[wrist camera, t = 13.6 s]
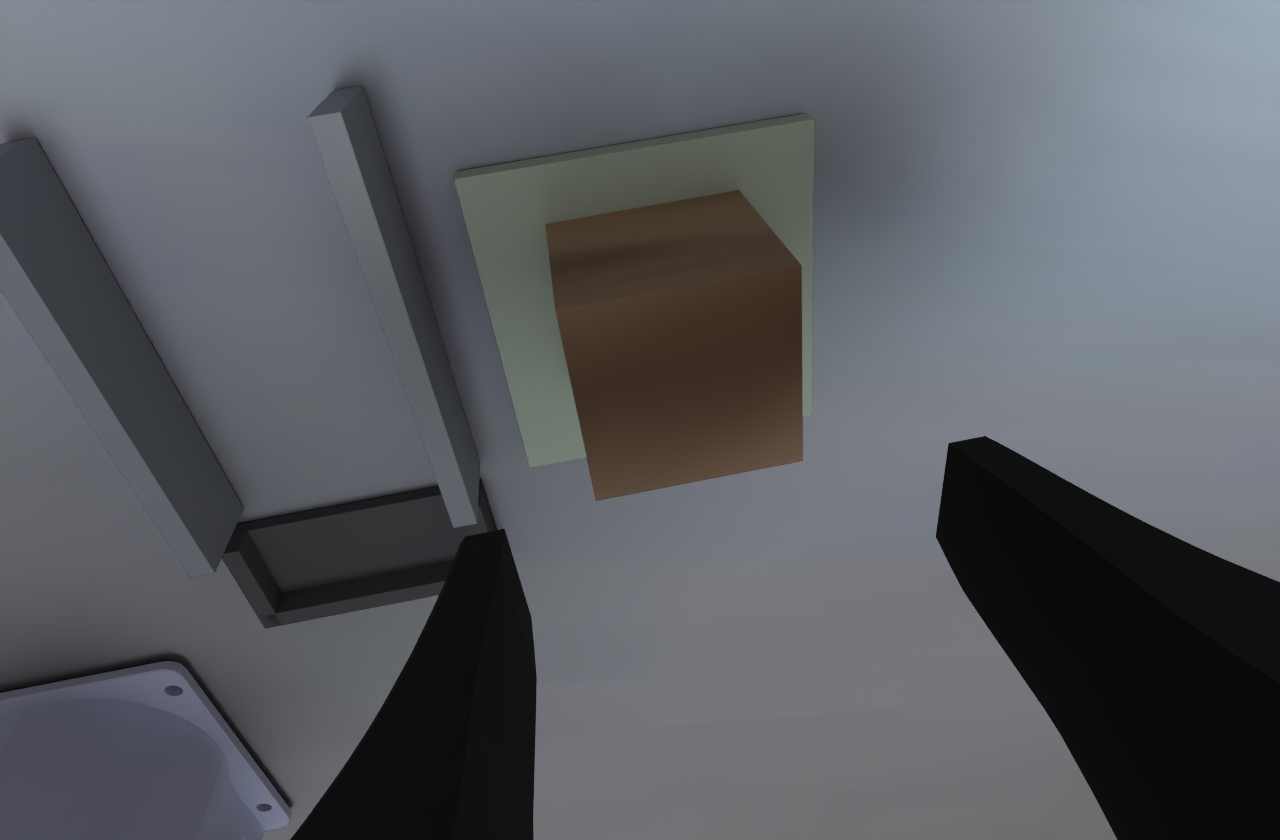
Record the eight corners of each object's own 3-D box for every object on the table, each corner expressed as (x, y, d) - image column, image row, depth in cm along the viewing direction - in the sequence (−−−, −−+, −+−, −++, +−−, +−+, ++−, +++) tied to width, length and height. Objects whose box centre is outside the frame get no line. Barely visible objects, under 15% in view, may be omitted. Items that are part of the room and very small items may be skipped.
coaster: (804, 403, 22) (812, 415, 21) (529, 455, 21) (530, 468, 21) (806, 113, 17) (814, 119, 17) (455, 171, 17) (453, 179, 16)
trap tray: (504, 553, 23) (504, 581, 22) (275, 597, 23) (265, 628, 22) (481, 478, 22) (479, 505, 21) (232, 524, 21) (219, 554, 20)
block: (748, 358, 20) (802, 460, 16) (579, 390, 20) (596, 500, 16) (739, 189, 17) (802, 265, 14) (545, 224, 17) (555, 310, 13)
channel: (479, 464, 21) (476, 523, 19) (221, 512, 21) (190, 577, 19) (362, 85, 16) (340, 111, 14) (5, 142, 15) (-74, 178, 13)
